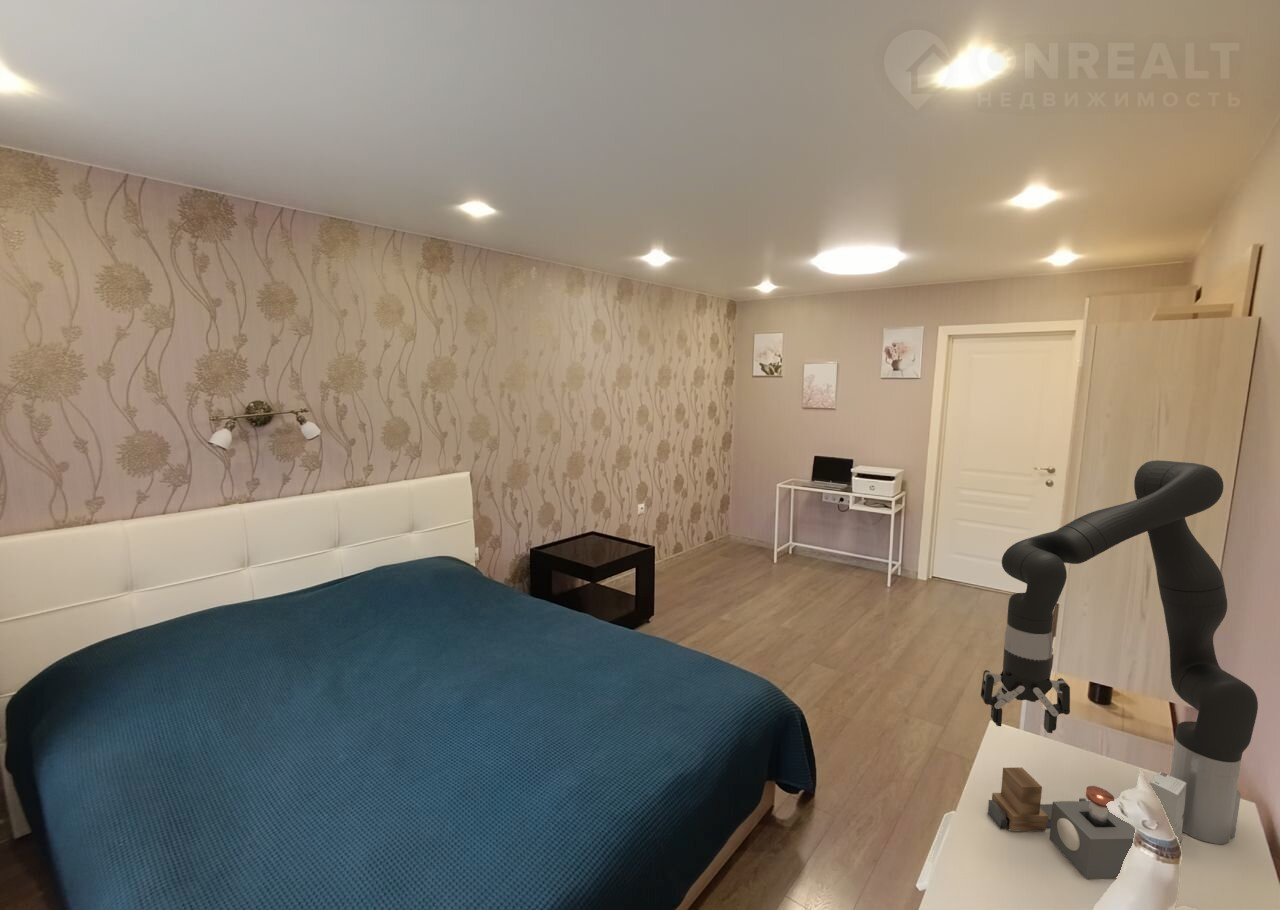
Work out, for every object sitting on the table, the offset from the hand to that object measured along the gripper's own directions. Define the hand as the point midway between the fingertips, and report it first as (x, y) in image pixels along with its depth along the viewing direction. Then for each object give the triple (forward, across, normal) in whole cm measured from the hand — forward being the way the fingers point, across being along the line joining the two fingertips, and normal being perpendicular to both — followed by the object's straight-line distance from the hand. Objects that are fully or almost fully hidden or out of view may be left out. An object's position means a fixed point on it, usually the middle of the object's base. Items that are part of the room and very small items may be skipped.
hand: (1022, 727), depth 109 cm
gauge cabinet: (+22, -12, +4) cm, 25 cm away
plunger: (+16, -12, +3) cm, 20 cm away
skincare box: (+23, -27, -6) cm, 35 cm away
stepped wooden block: (+22, -1, -3) cm, 22 cm away
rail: (+22, -6, -4) cm, 23 cm away
